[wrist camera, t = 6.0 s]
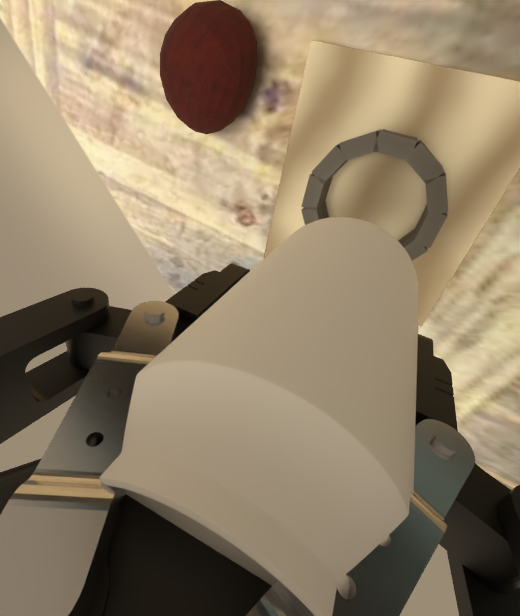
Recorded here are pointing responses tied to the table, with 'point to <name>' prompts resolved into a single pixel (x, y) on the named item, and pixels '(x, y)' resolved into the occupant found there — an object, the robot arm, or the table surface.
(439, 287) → the ring board
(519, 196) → the table surface
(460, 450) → the robot arm
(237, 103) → the potato
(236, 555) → the beverage can
